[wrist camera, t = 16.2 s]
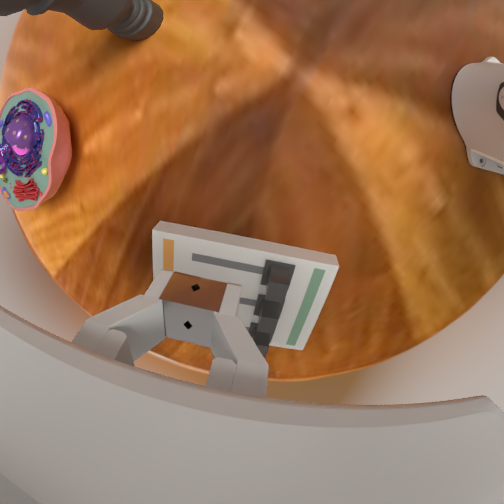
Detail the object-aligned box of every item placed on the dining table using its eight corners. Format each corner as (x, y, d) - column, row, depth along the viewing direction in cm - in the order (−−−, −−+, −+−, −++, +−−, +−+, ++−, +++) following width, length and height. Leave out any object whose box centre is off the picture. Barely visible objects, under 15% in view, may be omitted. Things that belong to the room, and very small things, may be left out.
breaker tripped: (285, 298, 40) (285, 317, 37) (278, 318, 42) (278, 337, 39) (258, 293, 40) (256, 312, 37) (253, 313, 42) (251, 332, 39)
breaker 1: (275, 326, 43) (274, 345, 40) (270, 342, 45) (269, 361, 42) (250, 322, 43) (248, 341, 40) (246, 338, 45) (244, 356, 42)
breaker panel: (335, 255, 39) (339, 266, 37) (302, 337, 49) (302, 350, 46) (160, 220, 39) (152, 229, 37) (161, 310, 48) (156, 321, 46)
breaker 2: (295, 265, 37) (296, 283, 34) (288, 288, 39) (288, 307, 36) (266, 259, 37) (264, 277, 34) (260, 283, 39) (258, 301, 36)
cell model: (13, 160, 35) (-29, 181, 25) (52, 65, 27) (0, 69, 17) (63, 213, 40) (22, 245, 30) (113, 118, 32) (60, 131, 22)
